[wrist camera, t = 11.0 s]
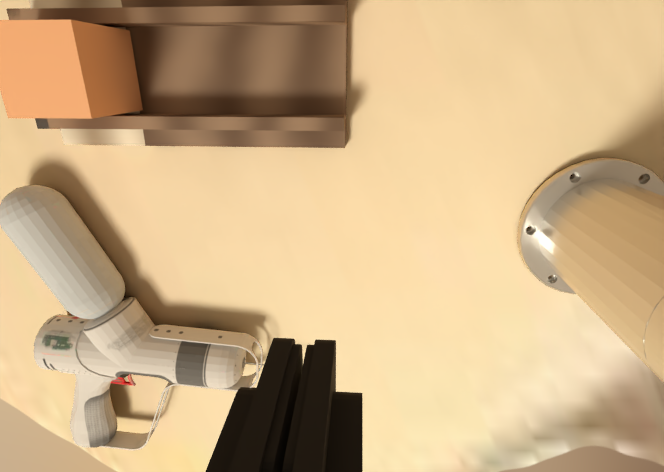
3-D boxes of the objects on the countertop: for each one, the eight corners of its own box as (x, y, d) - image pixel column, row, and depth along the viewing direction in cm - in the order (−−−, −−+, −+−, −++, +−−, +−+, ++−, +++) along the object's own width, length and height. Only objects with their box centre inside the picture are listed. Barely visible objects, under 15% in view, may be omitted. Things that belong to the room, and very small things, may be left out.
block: (129, 30, 32) (70, 19, 25) (142, 110, 34) (91, 118, 28) (57, 31, 32) (-20, 20, 26) (74, 109, 35) (8, 117, 28)
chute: (347, -14, 31) (345, -24, 28) (345, 145, 35) (343, 153, 32) (35, -9, 33) (-1, -18, 29) (71, 142, 37) (43, 149, 34)
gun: (73, 414, 50) (25, 175, 39) (304, 440, 49) (322, 204, 38) (39, 454, 45) (-28, 191, 34) (297, 484, 44) (316, 225, 33)
